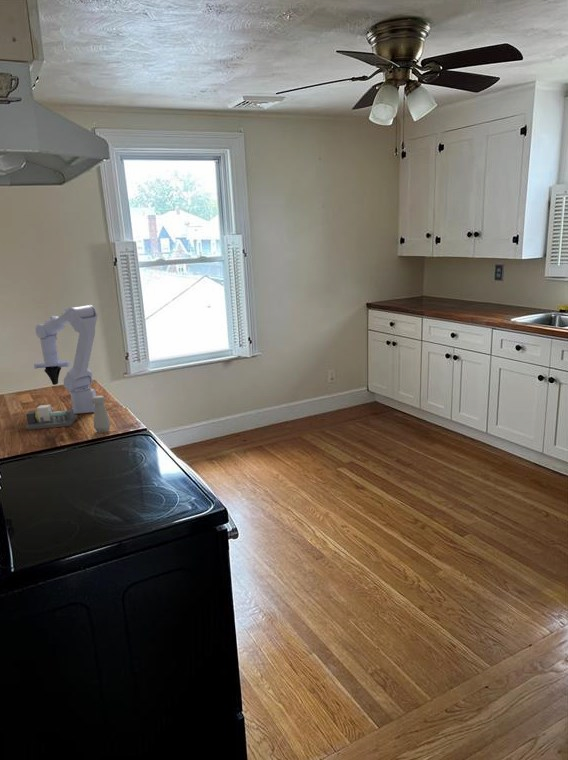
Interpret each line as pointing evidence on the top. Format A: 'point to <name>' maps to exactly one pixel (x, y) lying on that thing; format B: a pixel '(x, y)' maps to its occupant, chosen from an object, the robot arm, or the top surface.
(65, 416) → the rod slider bracket
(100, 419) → the salt shaker
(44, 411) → the sleeve
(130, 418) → the top surface
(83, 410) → the robot arm
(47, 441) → the top surface
